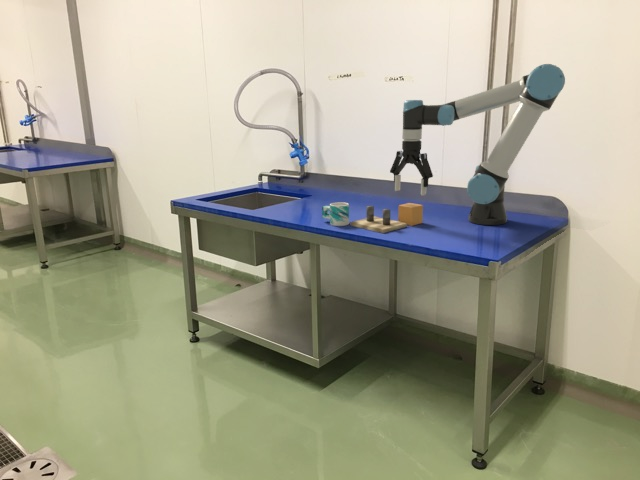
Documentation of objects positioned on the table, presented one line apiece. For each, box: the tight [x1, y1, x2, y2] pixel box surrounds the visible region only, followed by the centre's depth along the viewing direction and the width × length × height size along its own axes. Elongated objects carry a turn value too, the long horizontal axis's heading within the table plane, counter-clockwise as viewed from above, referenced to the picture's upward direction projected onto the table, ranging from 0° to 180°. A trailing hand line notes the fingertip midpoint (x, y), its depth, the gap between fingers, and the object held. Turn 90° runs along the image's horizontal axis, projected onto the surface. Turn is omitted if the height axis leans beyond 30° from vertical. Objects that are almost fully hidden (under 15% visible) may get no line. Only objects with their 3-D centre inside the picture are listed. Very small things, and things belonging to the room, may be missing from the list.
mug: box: [321, 201, 350, 227], centre depth 224 cm, size 8×12×8 cm
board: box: [349, 205, 408, 234], centre depth 216 cm, size 18×14×8 cm
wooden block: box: [397, 202, 424, 227], centre depth 220 cm, size 7×7×8 cm
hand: (410, 192), depth 218 cm, fingers open, 13 cm apart
